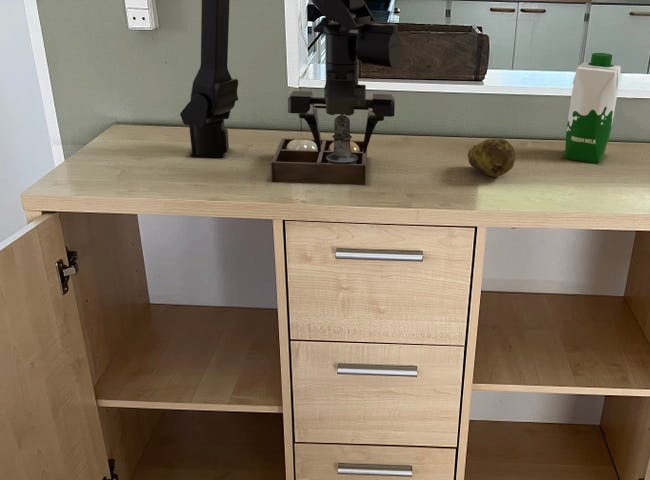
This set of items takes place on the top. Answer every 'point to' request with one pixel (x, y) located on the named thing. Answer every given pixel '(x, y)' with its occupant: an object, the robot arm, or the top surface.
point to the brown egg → (353, 147)
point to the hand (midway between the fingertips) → (342, 152)
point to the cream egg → (301, 145)
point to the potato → (492, 157)
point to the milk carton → (592, 108)
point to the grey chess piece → (342, 142)
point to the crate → (316, 165)
